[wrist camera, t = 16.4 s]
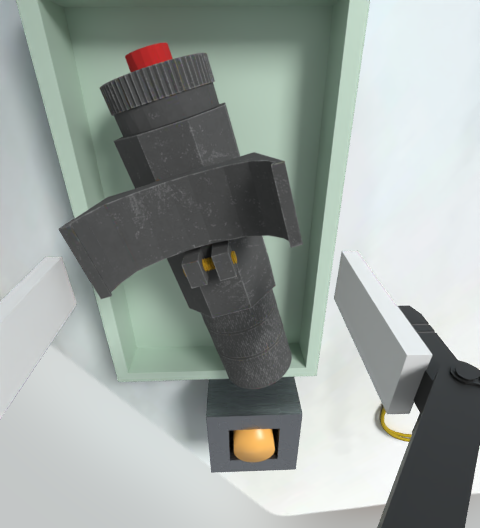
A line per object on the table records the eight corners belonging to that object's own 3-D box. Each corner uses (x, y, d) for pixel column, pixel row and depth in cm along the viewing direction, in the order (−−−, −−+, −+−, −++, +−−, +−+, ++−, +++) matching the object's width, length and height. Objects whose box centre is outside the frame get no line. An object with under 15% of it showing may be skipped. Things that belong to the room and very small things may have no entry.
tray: (47, -13, 18) (6, -34, 15) (348, -14, 19) (375, -35, 15) (130, 350, 31) (118, 382, 28) (307, 345, 32) (316, 375, 28)
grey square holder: (209, 363, 32) (206, 417, 27) (290, 360, 33) (302, 414, 27) (213, 416, 36) (211, 472, 31) (285, 413, 36) (295, 469, 31)
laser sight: (204, 347, 30) (195, 454, 22) (82, 81, 20) (-33, 79, 11) (308, 322, 29) (342, 424, 21) (237, 27, 19) (244, -24, 10)
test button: (232, 390, 32) (233, 438, 28) (269, 389, 32) (275, 436, 28) (233, 414, 34) (234, 463, 30) (268, 413, 34) (274, 461, 30)
